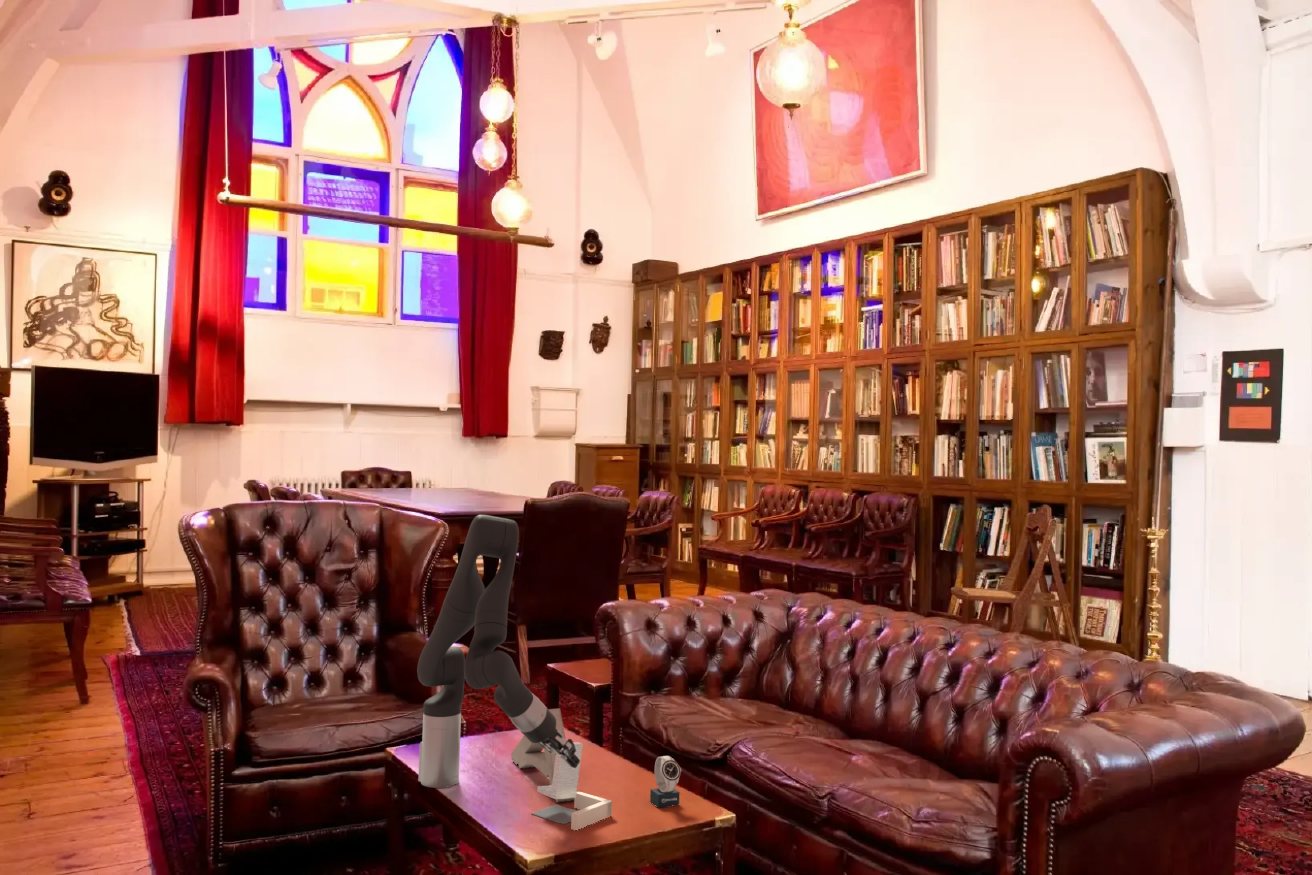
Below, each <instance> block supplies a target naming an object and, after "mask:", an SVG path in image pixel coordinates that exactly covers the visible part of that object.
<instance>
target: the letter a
mask: <svg viewBox="0 0 1312 875" xmlns="http://www.w3.org/2000/svg"><path fill="white" fill-rule="evenodd" d="M547 709H548V708H547ZM548 710H549V711H550V712H551V713H552V714H553V715H554V716H555V718H556V729H557V730H559V731H560V732H561V733H562V736H563V737H564V738H565V739H566V740H567V738H566V734H565V728H564V722H563V717H562V712H561V708H549V709H548ZM510 756H511V761H513V762H514V765H515V764H516V765H515V766H518V769H519V768H522V769H530V768H529V767H531V768H536V769H537V770H539V771H540V773H542V774H543V776H544V778H548V780H549V785H552V781H553V773H554V766H555V758H556V756H555V755H554V753H553V752H552V753H550V752H548V751H547V750H546V749H545V748H544V747H542V746H541V745H540V744H539V743H532V742H530V741H529V740H528V739H527V738H526V737H525V736H524V735H523V736H522V738H521V739H520V740H519V742H517V745H516V746H515V748H514V749H513V750H512V752H511V753H510ZM517 764H518V765H517ZM574 799H575V798H565V799H555V802H558V803H565V801H566V802H572V801H571V800H573V801H574Z"/></svg>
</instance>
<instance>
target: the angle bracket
mask: <svg viewBox="0 0 1312 875" xmlns="http://www.w3.org/2000/svg"><path fill="white" fill-rule="evenodd" d="M573 743H574V745H575V748H576V752H575V753H574V754H575V755H576V756H577V757H578V758H579V760H580V763H579V764H578V765H577V767H576V768H573V767H572V766H571V765H570V764H569V763H568V762H567V761H566V760H565V759H564V758H563V757H562V756H561V755H559V754H556V758H555V766H554V773H553V781H552V785H550V784H549V785H538V786H537V790H536V792H538V793H540V794H542V795H544V796H545V797H546V796H547V797H549V798H551V799H553V800H556V799H565V798H576V793H577V792H578V785H579V777H580V769H581V762H582V755H583V746H584V743H582V742H580V741H573ZM563 753H564V751H563Z"/></svg>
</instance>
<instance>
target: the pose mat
mask: <svg viewBox="0 0 1312 875" xmlns="http://www.w3.org/2000/svg"><path fill="white" fill-rule="evenodd" d="M576 811H577V810H576V809H571V808H568V807H565V806H561V805H559V804H553V805H550V806H548V807H545V808H542V809H540V810H537V811H534V812H531V815H533V816H536V817H538V816H539V818H542V819H545V820H548V821H551V820H552V821H551V822H553V823H557V822H558V824H560V823H561V825H563V824H565V825H567V824H569V823H568V822H570V823H571V816H572V813H573V812H576Z"/></svg>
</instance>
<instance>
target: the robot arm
mask: <svg viewBox="0 0 1312 875" xmlns="http://www.w3.org/2000/svg"><path fill="white" fill-rule="evenodd" d="M519 531H520V530H519V525H518V523H517V522H516V521H515V520H514V519H510V518H504V517H499V516H493V515H488V514H478V515H476V516H474V518H473V520H472V521H471V523H470V525H469V528H468V531H467V535H466V538H465V541H464V545H463V548H462V552H461V556H460V559H459V562H458V565H457V567H456V571H455V573H454V576H453V578H452V581H451V583H450V586H449V587H448V591H447V592H446V595H445V598H444V600H443V603H442V606H441V609H440V612H439V615H438V617H437V620H436V622H435V625H434V627H433V630H432V632H431V634H430V635H429V637H428V640H426V643H425V645H424V647H423V649H422V651H421V653H420V656H419V658H418V663H417V667H416V668H417V669H416V672H417V678H418V681H419V683H420V684H421V685H422V686H425V687H441V686H442V688H441V689H440V690H439V691H438V692H437V693H435V694H434V695H432V696H431V697H428V699H425V701H424V703H423V706H422V708H423V709H422V710H423V712H422V713H423V714H422V736H421V739H422V741H420V743H419V748H418V749H419V752H418V779H417V780H418V782H420V784H421V785H422V786H424V787H426V788H434V789H440V788H442V789H443V788H449V787H453V786H456V785H457V784H458V783H459V781H460V757H461V756H460V754H461V724H462V723H461V719H462V707H463V706H462V705H463V702H464V690H465V681H466V684H467V685H468V686H469V687H471V689H474V690H483V689H487V688H491V687H495V686H497V687H496V689H495V691H494V694H493V699H494V701H495V703H496V704H497V706H498V707H499V708H500V709H501V710H502V711H503V712H504V713H505V714H506V715H507V716H508V718H509V719H510V722H512V724H513V725H514V726H515V727H516V728H517V729H518V731H520V733H522V734H523V737H524V736H525V737H526V738H527V739H528V740H529V741H530V742H532V743H539V744H540V745H541V746H542V747H544V748H545V749H546V750H547V751H548V752H550V753H552V752H553V753H554V755H555V756H556V754H559V755H561V756H562V757H563V758H564V759H565V760H566V761H567V762H568V763H569V764H570V765H571V766H572V767H573V768H576V767H577V765H578V764H579V763H580V760H579V758H578V757H577V756H576V755H575V754H574V753H575V752H576V748H575V745H574V743H573V742H574V741H573V740H572V738H568V739H567V738H566V737H565V738H566V739H565V738H564V737H563V736H562V733H561V732H560V731H559V730H557V729H556V718H555V716H554V715H553V714H552V713H551V712H550V711H549V710H548V707H547V706H546V705H545V704H544V703H543V702H542V701H541V700H540V698H539V697H538V696H536V695H535V693H532V691H531V690H530V689H529V688H528V687H527V686H526V685H525V683H524V682H523V680H522V678H521V676H520V674H519V671H518V670H517V667H516V665H515V663H514V661H513V658H512V657H511V656H510V655H509V654H508V653H506V652H504V651H503V650H495V649H496V648H497V647H499V646H500V645H501V644H503V643H504V642H505V641H506V639H507V634H508V613H509V611H508V610H509V599H510V592H511V588H512V583H513V576H514V572H515V565H516V559H517V554H518V548H519V547H518V546H519V537H520V533H519ZM480 556H483V557H484V556H485V557H491V558H496V559H499V560H500V561H499V562H500V563H499V567H498V570H497V572H496V574H495V576H494V577H493V579H492V580H491V582H490V583H489V584H488V585H487V586H486V587H485V585H484V583H483V580H482V578H481V575H480V572H479V570H478V566H477V560H478V558H479V557H480ZM473 627H474V630H473V632H474V633H473V636H472V639H471V642H470V644H469V648H468V651H467V654H466V657H465V654H464V651H463V649H461V648H460V647H459V646H453V645H454V644H455V643H456V642H457V641H458V640H460V639H461V638H462V637H463V636H465V635H466V634H467V633H468V632H469V631H470V630H471V629H473ZM563 751H564V753H563ZM580 764H581V763H580ZM455 784H456V785H455Z"/></svg>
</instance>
